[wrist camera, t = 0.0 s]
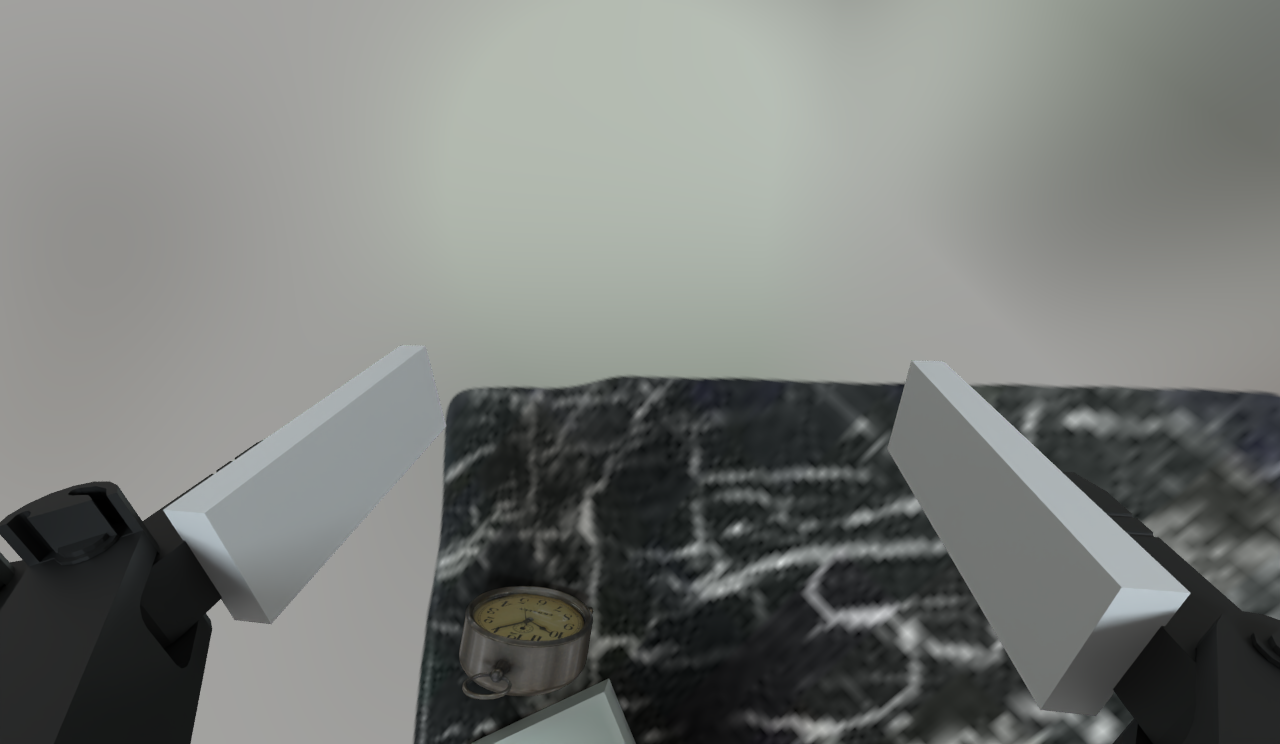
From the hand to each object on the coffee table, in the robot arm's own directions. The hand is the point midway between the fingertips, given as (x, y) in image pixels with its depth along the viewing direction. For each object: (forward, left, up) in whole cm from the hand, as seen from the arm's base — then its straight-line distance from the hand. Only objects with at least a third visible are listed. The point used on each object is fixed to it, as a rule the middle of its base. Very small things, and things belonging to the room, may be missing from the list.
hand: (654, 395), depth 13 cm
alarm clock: (-10, +20, -36) cm, 43 cm away
